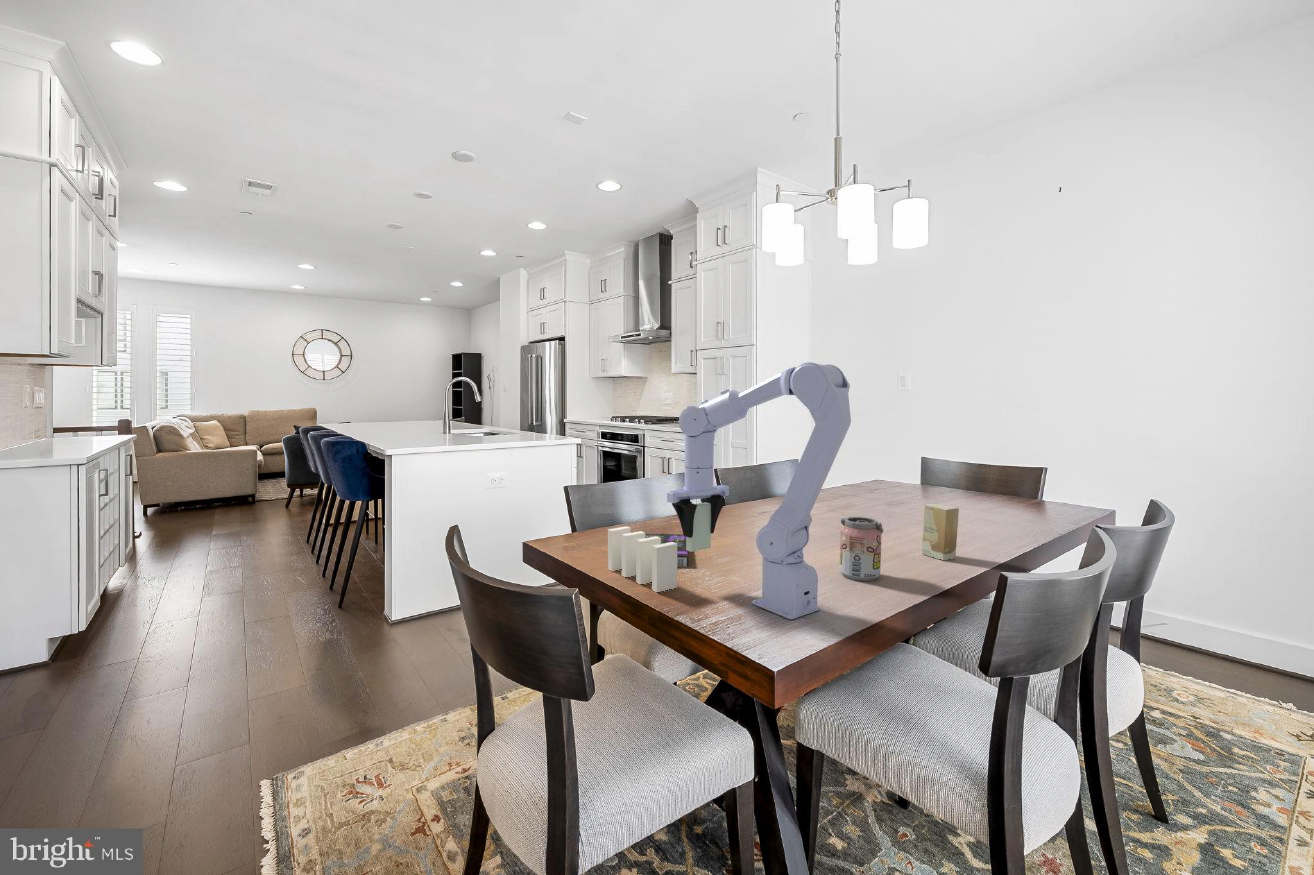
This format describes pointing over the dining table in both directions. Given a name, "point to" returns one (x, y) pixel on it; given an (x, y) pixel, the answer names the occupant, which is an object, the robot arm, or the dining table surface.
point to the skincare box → (940, 531)
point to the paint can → (860, 548)
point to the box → (681, 545)
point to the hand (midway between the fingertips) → (698, 534)
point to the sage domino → (700, 529)
